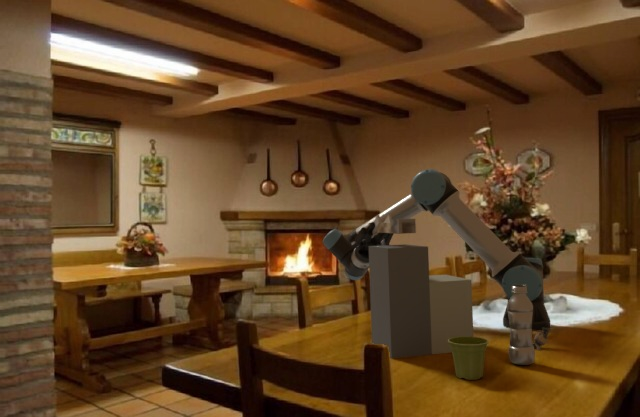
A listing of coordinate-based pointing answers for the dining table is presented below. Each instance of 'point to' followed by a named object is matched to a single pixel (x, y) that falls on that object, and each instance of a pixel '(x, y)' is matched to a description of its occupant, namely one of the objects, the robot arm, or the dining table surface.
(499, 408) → the dining table surface
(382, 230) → the batten
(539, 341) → the vase
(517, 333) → the plastic bottle
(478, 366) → the plant pot
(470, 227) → the robot arm
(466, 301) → the pedestal
